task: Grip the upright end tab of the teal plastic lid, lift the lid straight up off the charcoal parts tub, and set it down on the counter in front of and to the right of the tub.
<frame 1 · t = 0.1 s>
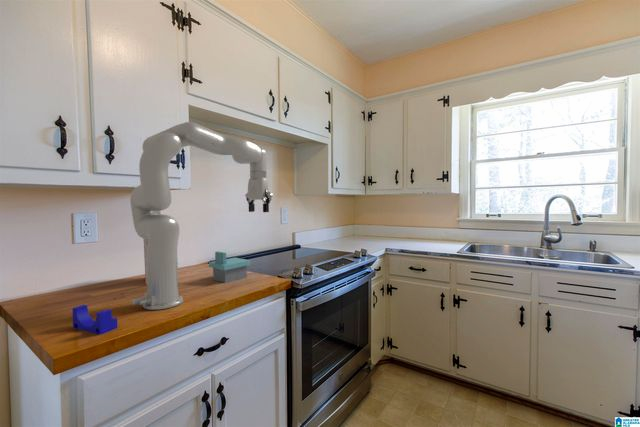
hand: (258, 211, 138), 31 cm above the countertop, tool pointing down, fingers open, 9 cm apart
cracker box: (153, 281, 133), on the countertop
cable clip: (95, 329, 84), on the countertop
lid: (230, 265, 136), point 6 cm above the countertop, touching tub
tub: (230, 278, 137), on the countertop
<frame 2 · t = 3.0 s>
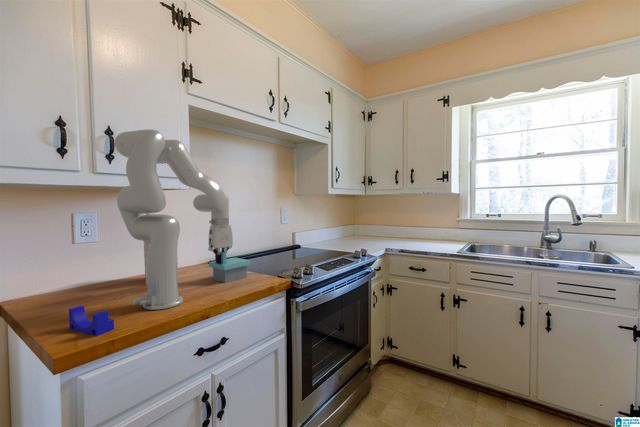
hand: (220, 262, 132), 8 cm above the countertop, tool pointing down, fingers closed on lid
lid: (230, 265, 136), point 6 cm above the countertop, touching gripper
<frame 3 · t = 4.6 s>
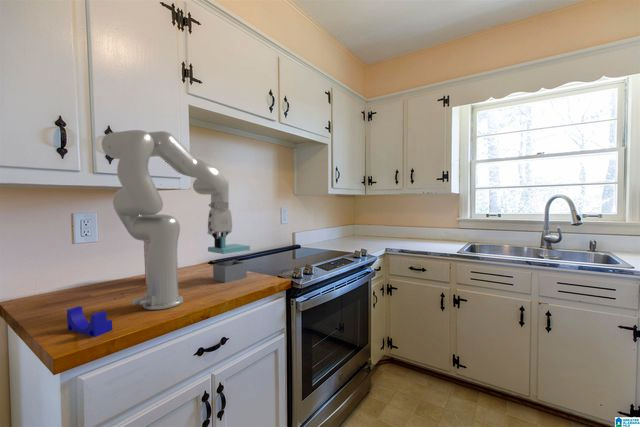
hand: (219, 246, 131), 16 cm above the countertop, tool pointing down, fingers closed on lid
lid: (229, 250, 136), point 13 cm above the countertop, touching gripper
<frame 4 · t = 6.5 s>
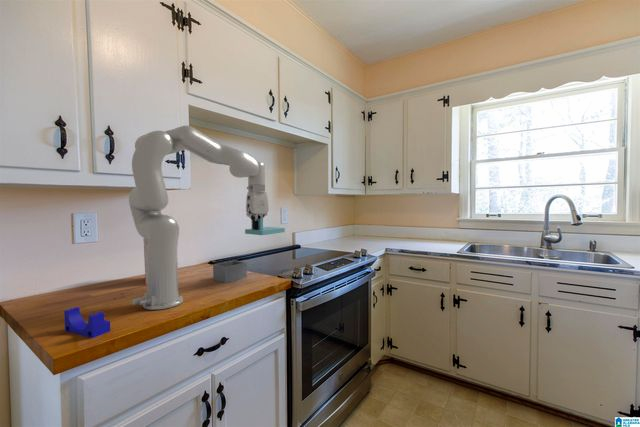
hand: (257, 229, 134), 23 cm above the countertop, tool pointing down, fingers closed on lid
lid: (265, 232, 138), point 21 cm above the countertop, touching gripper
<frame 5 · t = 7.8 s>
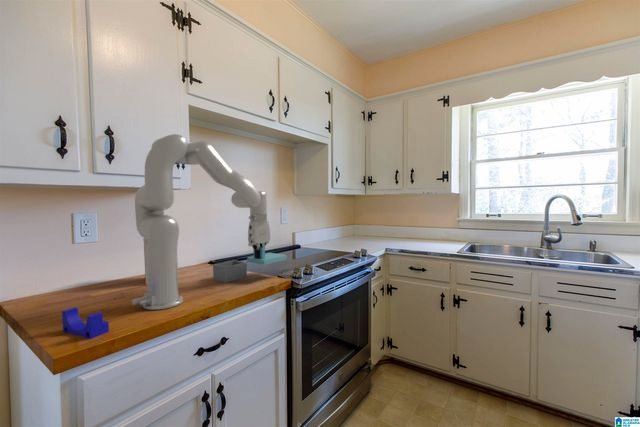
hand: (259, 257, 135), 10 cm above the countertop, tool pointing down, fingers closed on lid
lid: (267, 260, 139), point 8 cm above the countertop, touching gripper
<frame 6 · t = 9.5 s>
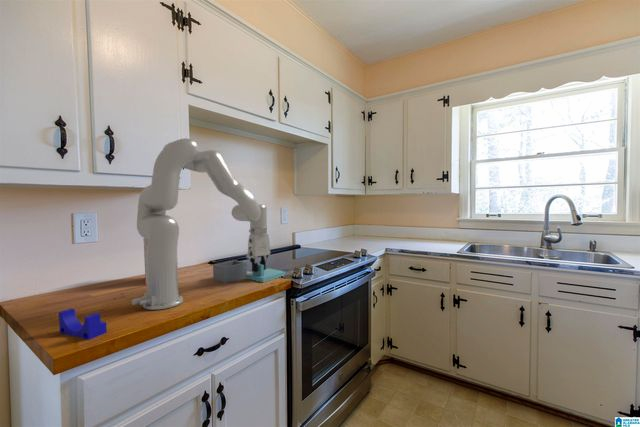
hand: (258, 269, 135), 4 cm above the countertop, tool pointing down, fingers open, 4 cm apart
lid: (266, 277, 139), on the countertop
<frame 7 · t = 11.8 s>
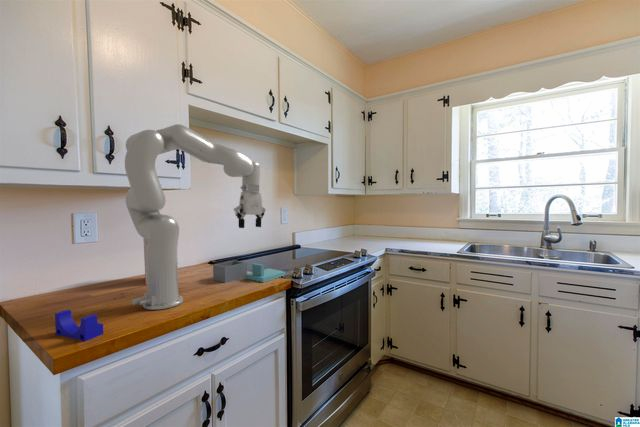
hand: (250, 227, 131), 24 cm above the countertop, tool pointing down, fingers open, 9 cm apart
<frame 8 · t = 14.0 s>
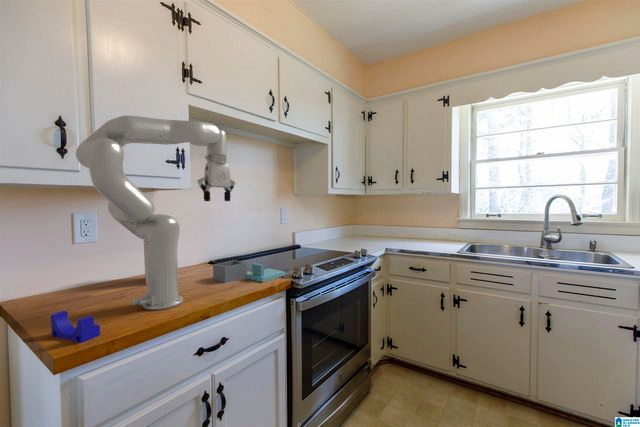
hand: (217, 201, 122), 36 cm above the countertop, tool pointing down, fingers open, 9 cm apart
at the end: lid inside the target area on the countertop beside the tub (1.1 cm from its centre), on the countertop; lid touching countertop; the gripper is holding nothing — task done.
